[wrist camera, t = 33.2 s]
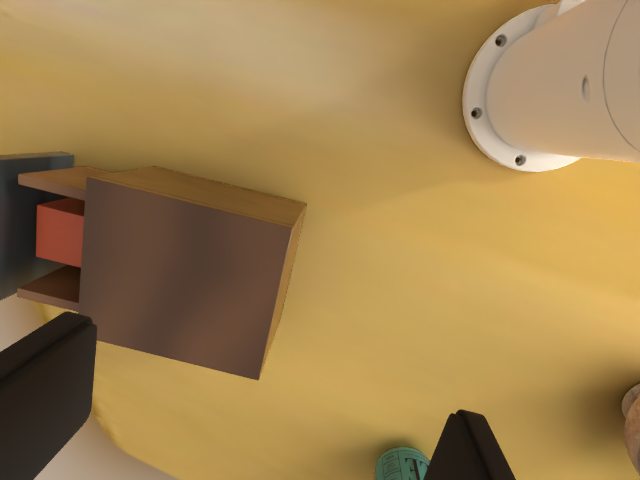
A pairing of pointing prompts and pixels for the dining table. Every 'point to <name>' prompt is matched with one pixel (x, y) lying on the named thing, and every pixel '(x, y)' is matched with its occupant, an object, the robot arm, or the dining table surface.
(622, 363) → the dining table surface
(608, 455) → the dining table surface
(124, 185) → the cabinet
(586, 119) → the robot arm
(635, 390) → the pottery
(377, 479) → the beverage bottle
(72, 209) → the block
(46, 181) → the drawer
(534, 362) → the dining table surface
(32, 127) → the dining table surface
